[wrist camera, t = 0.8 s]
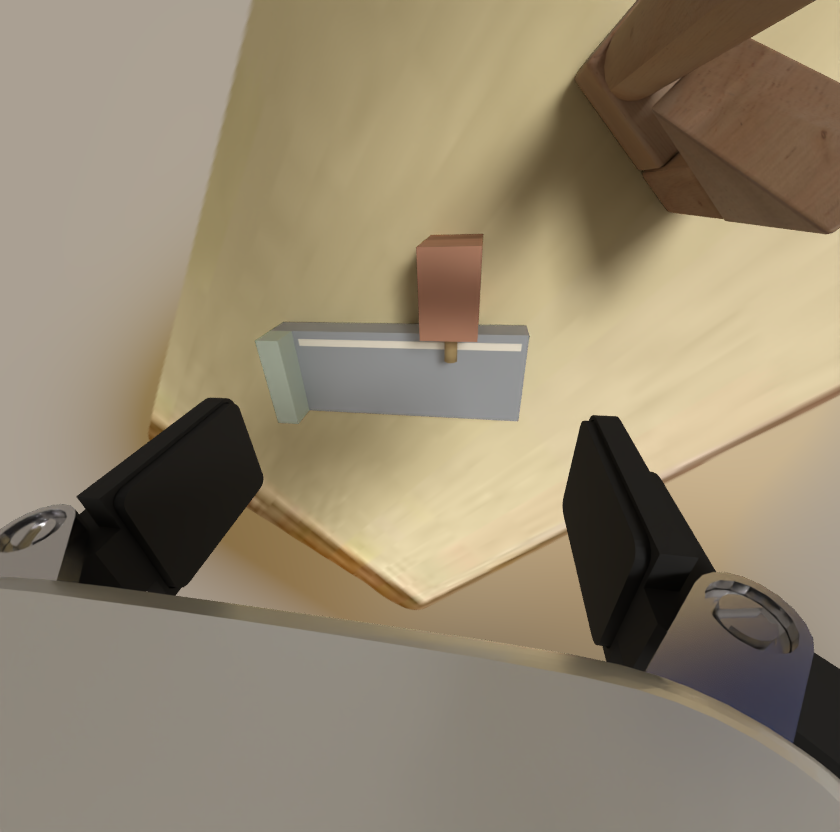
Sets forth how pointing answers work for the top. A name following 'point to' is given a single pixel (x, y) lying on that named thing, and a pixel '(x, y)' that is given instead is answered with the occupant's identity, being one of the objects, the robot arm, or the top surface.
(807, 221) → the brown forked upright piece
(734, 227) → the top surface
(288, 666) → the robot arm
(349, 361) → the grey board
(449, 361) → the brown block
